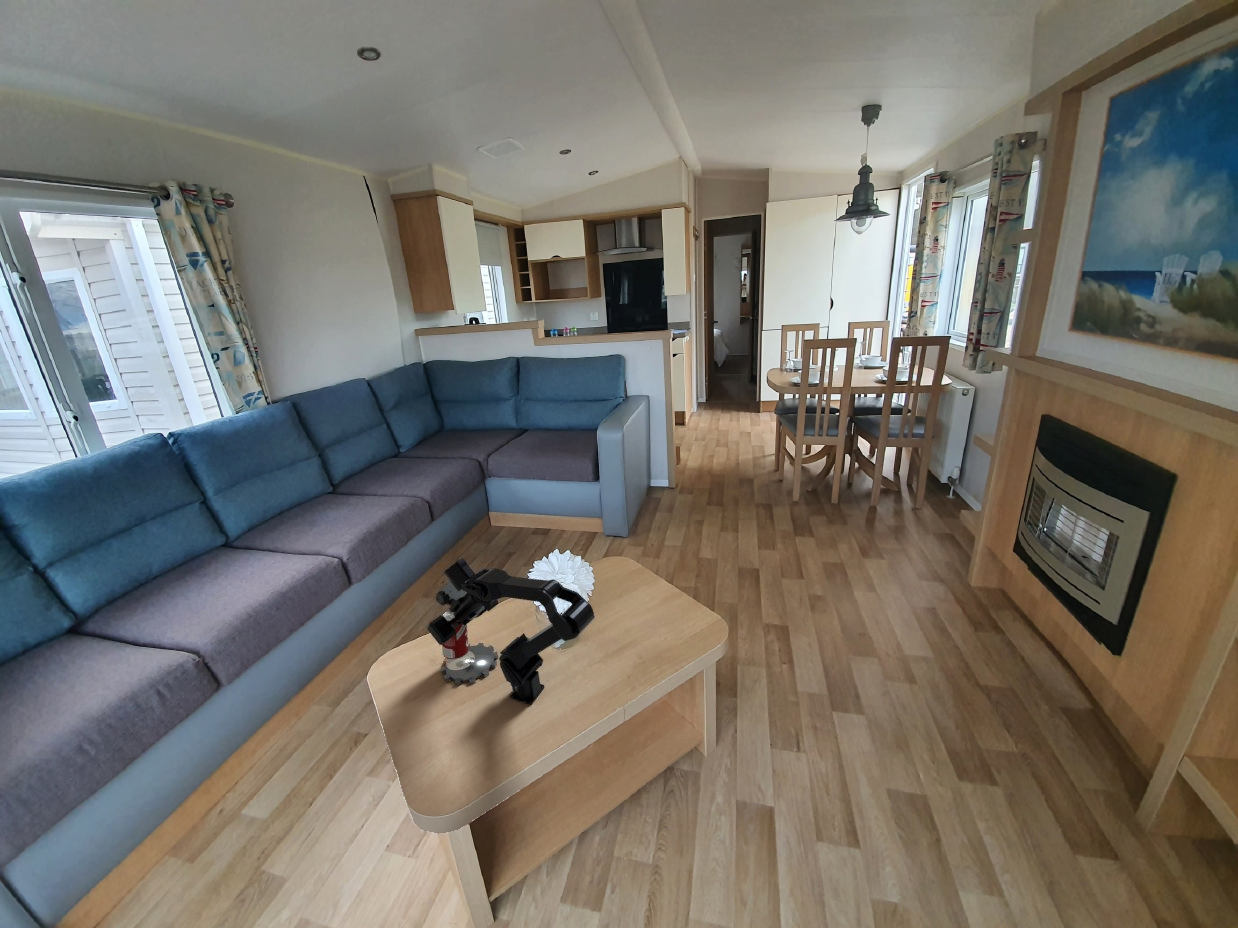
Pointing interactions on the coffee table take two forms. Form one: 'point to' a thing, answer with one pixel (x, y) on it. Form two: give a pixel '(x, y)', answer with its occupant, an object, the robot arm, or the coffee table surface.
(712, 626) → the coffee table surface
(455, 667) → the sprocket
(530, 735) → the coffee table surface
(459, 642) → the soda can
